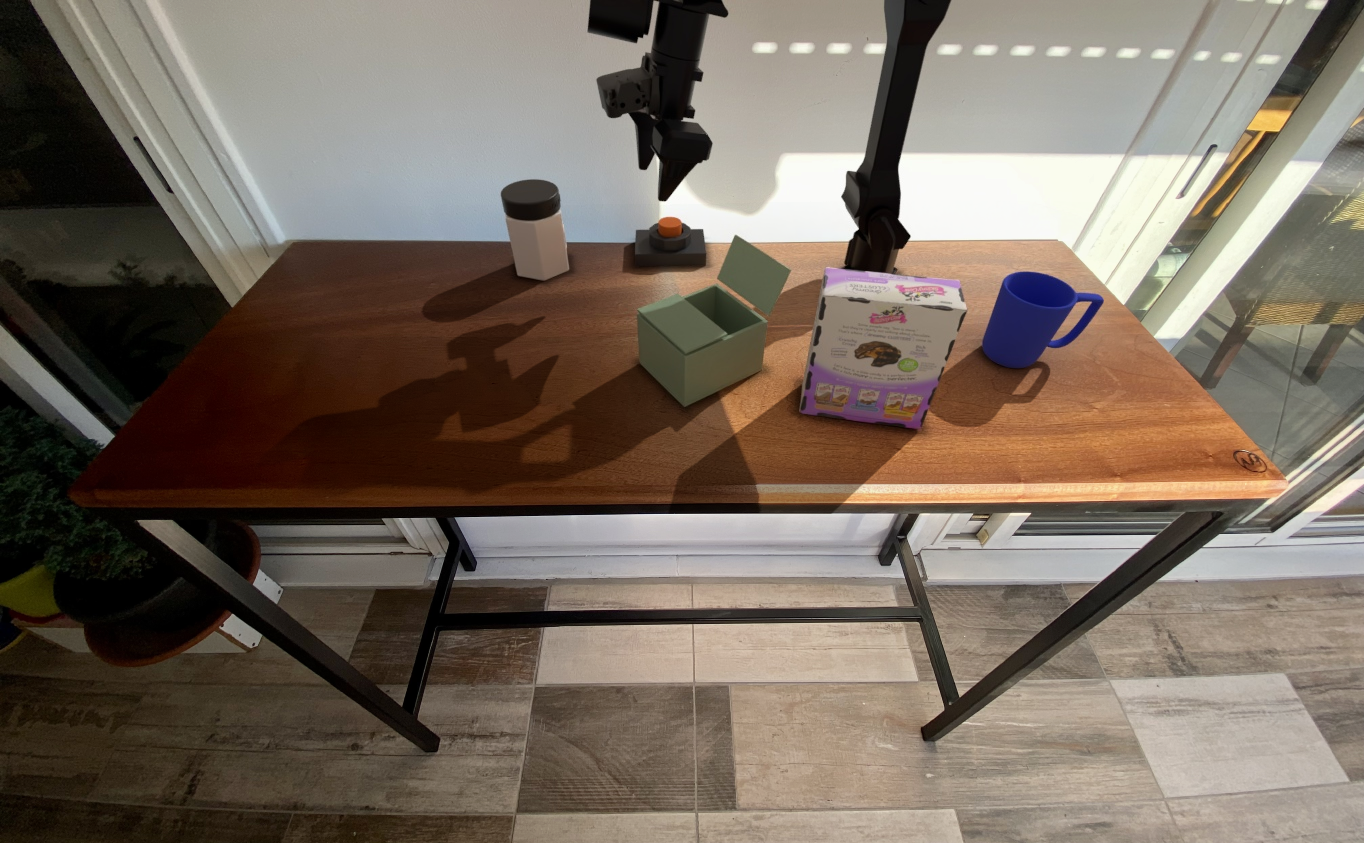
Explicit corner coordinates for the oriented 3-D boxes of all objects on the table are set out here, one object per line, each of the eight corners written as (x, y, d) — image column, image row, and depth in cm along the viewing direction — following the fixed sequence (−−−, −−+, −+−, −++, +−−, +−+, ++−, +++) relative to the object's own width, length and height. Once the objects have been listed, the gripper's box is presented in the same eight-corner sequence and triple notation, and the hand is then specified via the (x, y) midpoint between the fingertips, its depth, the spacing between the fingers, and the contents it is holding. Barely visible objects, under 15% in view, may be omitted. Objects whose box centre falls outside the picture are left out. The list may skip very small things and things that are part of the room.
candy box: (916, 398, 72) (963, 277, 60) (920, 432, 68) (970, 310, 56) (801, 382, 74) (824, 262, 62) (798, 414, 69) (822, 293, 58)
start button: (681, 227, 94) (681, 216, 93) (681, 238, 92) (682, 227, 91) (658, 227, 94) (658, 216, 93) (658, 238, 92) (658, 227, 91)
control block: (702, 241, 99) (703, 218, 96) (705, 266, 93) (706, 242, 90) (636, 241, 98) (635, 219, 96) (635, 267, 93) (634, 243, 90)
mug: (1082, 377, 75) (1125, 309, 68) (986, 375, 75) (1018, 308, 68) (1055, 337, 80) (1091, 271, 73) (965, 335, 81) (993, 270, 73)
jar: (572, 278, 90) (561, 201, 82) (517, 284, 89) (500, 207, 80) (567, 249, 96) (556, 175, 88) (515, 254, 95) (500, 180, 87)
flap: (716, 278, 75) (718, 279, 75) (768, 316, 69) (769, 316, 70) (734, 234, 72) (736, 234, 73) (790, 269, 67) (791, 269, 67)
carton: (714, 331, 81) (717, 278, 75) (762, 370, 75) (769, 316, 69) (639, 363, 76) (636, 309, 70) (684, 407, 70) (685, 352, 64)
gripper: (589, 18, 71) (577, 150, 82) (629, 69, 60) (609, 215, 70) (676, 33, 76) (654, 157, 86) (729, 84, 64) (696, 220, 74)
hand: (651, 184), depth 79 cm, fingers open, 9 cm apart
